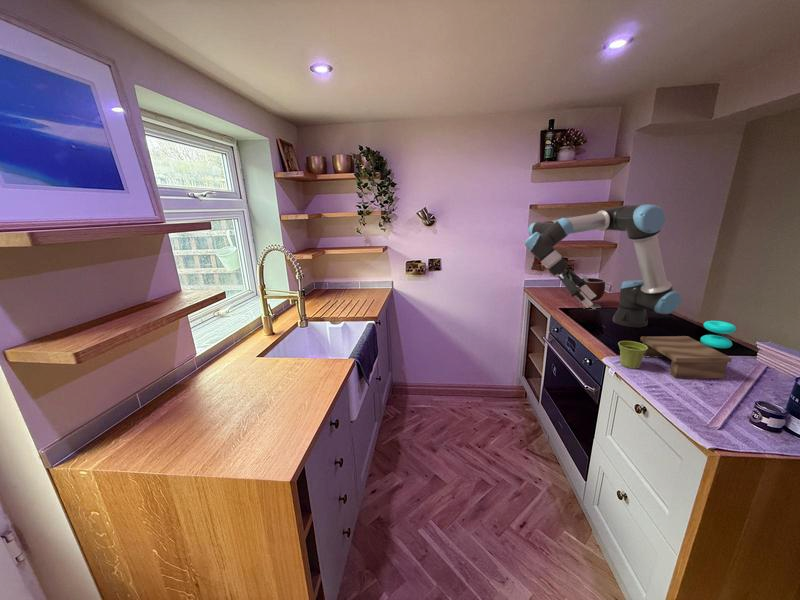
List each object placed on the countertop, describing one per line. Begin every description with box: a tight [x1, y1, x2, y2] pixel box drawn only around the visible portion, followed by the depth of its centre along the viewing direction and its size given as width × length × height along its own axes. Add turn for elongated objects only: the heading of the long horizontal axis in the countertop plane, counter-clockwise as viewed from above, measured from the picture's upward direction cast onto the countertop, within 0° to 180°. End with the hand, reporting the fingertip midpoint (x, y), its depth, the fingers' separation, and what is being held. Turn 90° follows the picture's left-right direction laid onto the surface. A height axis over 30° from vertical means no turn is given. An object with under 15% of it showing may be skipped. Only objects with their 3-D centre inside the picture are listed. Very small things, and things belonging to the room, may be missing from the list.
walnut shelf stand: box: [640, 335, 733, 379], centre depth 122 cm, size 20×18×8 cm
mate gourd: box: [578, 272, 606, 310], centre depth 195 cm, size 16×14×20 cm
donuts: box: [699, 320, 737, 349], centre depth 136 cm, size 10×10×10 cm
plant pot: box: [617, 340, 648, 369], centre depth 124 cm, size 9×9×9 cm
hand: (591, 301), depth 128 cm, fingers open, 13 cm apart
